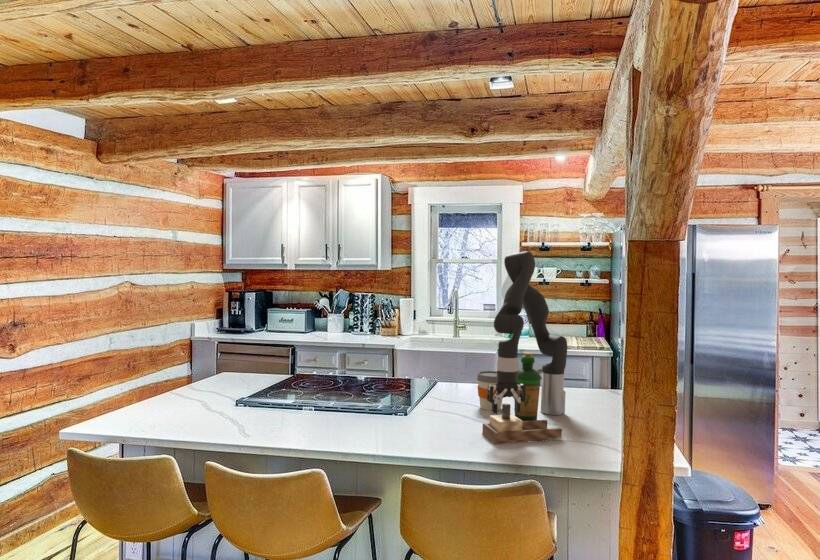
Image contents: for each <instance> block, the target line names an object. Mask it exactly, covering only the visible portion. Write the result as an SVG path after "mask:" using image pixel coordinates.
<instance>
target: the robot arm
mask: <svg viewBox="0 0 820 560" xmlns="http://www.w3.org/2000/svg"><path fill="white" fill-rule="evenodd" d="M503 262H504V267H505V268H504V269H505V270H506V274H507V275H508V277H509V279H510V281H511V283H512V284H511V285H509V287H508V289H507V290H506V292H505V294H504V298H503V303H502V306H501V308H500V309H499V311H498V312H497V314H496V315H495V317H494V320H493V328H494V330H495V332H497V333H498V334H506V335H507V334H508V335H509V334H510V335H512V337H511V338H508V339H502V340H500V341H499V342H498V344H497V345H498V346H497V360H496V372H497V384H496V386H491V385H488V392H487V401H489V402H490V403H492V410H491V412H492V414H493V415H498V410H497V402H498V401H499V400H500V399H501V398H502V397H504V398H507V397H508V398H513V399H514V400H515V401H516V402H514V410H513V411H514V414H515V413H519V411H520V403H521V402H522V401H525V400H526V396H525V385H523V384H520V385H517V377H518V370H519V361H518V357H519V355H518V354H519V353H518V352H519V350H518V349H519V343H520V339H521V335H522V332H523V329H524V325H525V324H524V322H525V321H524V318H523V316H521V315H520V314H521V312H522V310H523V309H524V312H525V314H526V316H527V318H528V320H529V322H530V325H531V328H532V331H533V333H534V337H535V339H536V340H535V341H536V344H537V347H538V349H539V352H540V353H541V354H543V356H547V357H551V358H552V359H551V362H549V363H545V364H543V365H542V367H541V387H540V388H541V389H540V391H541V392H540V393H541V395H540V412H541V413H542V414H544V413H545V414H544V415H549V414H550V415H551V416H559V415H558V414H560V415H563V414H562V413H565V414H566V390H564V388H565V387H564V386H565V385H564V384H565V371H566V365H567V357H568V356H567V355H568V342H567V339H566V337H565V336H563V335H557V334H551V333H550V332H549V330H548V328H547V319H548V318H549V313H550V312H549V311H550V310H549V306H548V304H547V301H546V299H545V296H544V295H543V294H542V293H541V292H540V291H539V290H538V289H537V288H535V287H534V286H532V285H531V284H530V282H531V279H532V277H533V274H534V273H535V268H536V261H535V256H534V254H533V253H532V252H531V251H527V250H525V251H521V252H515V253H511V254H508V255H506V256H505V257H504V260H503ZM495 389H496V390H497V392H496V394H495V395H494V397H493V392H494V391H495ZM517 389H519V390H520V398H519V397H518V395H517V394H516V390H517ZM550 415H549V416H550Z"/></svg>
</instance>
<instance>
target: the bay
mask: <svg viewBox="0 0 820 560" xmlns="http://www.w3.org/2000/svg"><path fill="white" fill-rule="evenodd" d="M482 435H483V436H484V437H486V438H487V439H489V441H491V442H492V443H493V444H495V445H503V444H519V443H518V442H522V443H529V442H528V441H537V442H546V441H545V440H552V441H561V440H560V439H562V440H563V438H562V437H563V429H562V428H561V427H558V428H557V427H556V428H555V427H554V428H548V420H547V419H537V420H533V421H523V426H522V430H520V431H503V432H497V431H496V430H494V429H493V428H492V427H490V426H489V422H483V423H482ZM543 440H544V441H543Z"/></svg>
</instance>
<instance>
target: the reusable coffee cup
mask: <svg viewBox="0 0 820 560" xmlns="http://www.w3.org/2000/svg"><path fill="white" fill-rule="evenodd" d="M476 379H477V396H478V397H479V406H480V409H483V410H485V411H492V403H490V402H489V401H487V392H488V385H491V386H496V384H497V370H495V371H493V370H483V371H482V370H481V371H478V372H477V378H476ZM496 392H497V390H496V389H495V391H494V392H493V397H494V395H495V394H496ZM503 398H505V397H502V398H501V399H500V400H499V401H498V402H497V411H500V410H502V404H503Z"/></svg>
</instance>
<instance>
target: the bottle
mask: <svg viewBox="0 0 820 560" xmlns="http://www.w3.org/2000/svg"><path fill="white" fill-rule="evenodd" d="M520 363H521V364H522V366H521V368H518V377H517V385H520V384H523V385H525V396H526V400H525V401H522V402H521V403H520V411H519V413H515V412H514V416H516V417H517V418H519V419H520V420H522V421H533V420H538V413H539V412H538V410H539V399H540V391H541V389H540V388H541V380H542V375H541V374H540V372H538V371H537V370H536V369H534V367H533V366H534V363H536V362H535V356H533V353H532V352H529V351H527V352H525V351H524V352H523V355H521V359H520ZM516 394H517V395H518V397H519V398H520V390H519V389H517V390H516ZM515 402H516V401H515V400H514V403H515Z"/></svg>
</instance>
